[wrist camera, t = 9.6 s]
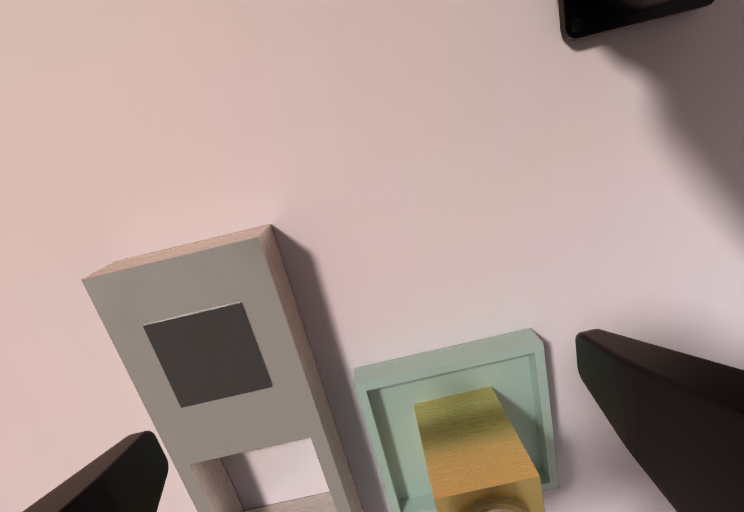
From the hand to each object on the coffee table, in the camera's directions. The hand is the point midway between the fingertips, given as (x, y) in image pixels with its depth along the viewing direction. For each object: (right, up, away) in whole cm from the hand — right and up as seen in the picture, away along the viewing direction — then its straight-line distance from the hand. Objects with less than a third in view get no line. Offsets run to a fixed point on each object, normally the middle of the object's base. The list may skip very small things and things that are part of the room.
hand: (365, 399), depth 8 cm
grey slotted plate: (-6, -7, +15) cm, 18 cm away
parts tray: (+5, -7, +15) cm, 17 cm away
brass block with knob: (+5, -7, +14) cm, 17 cm away
